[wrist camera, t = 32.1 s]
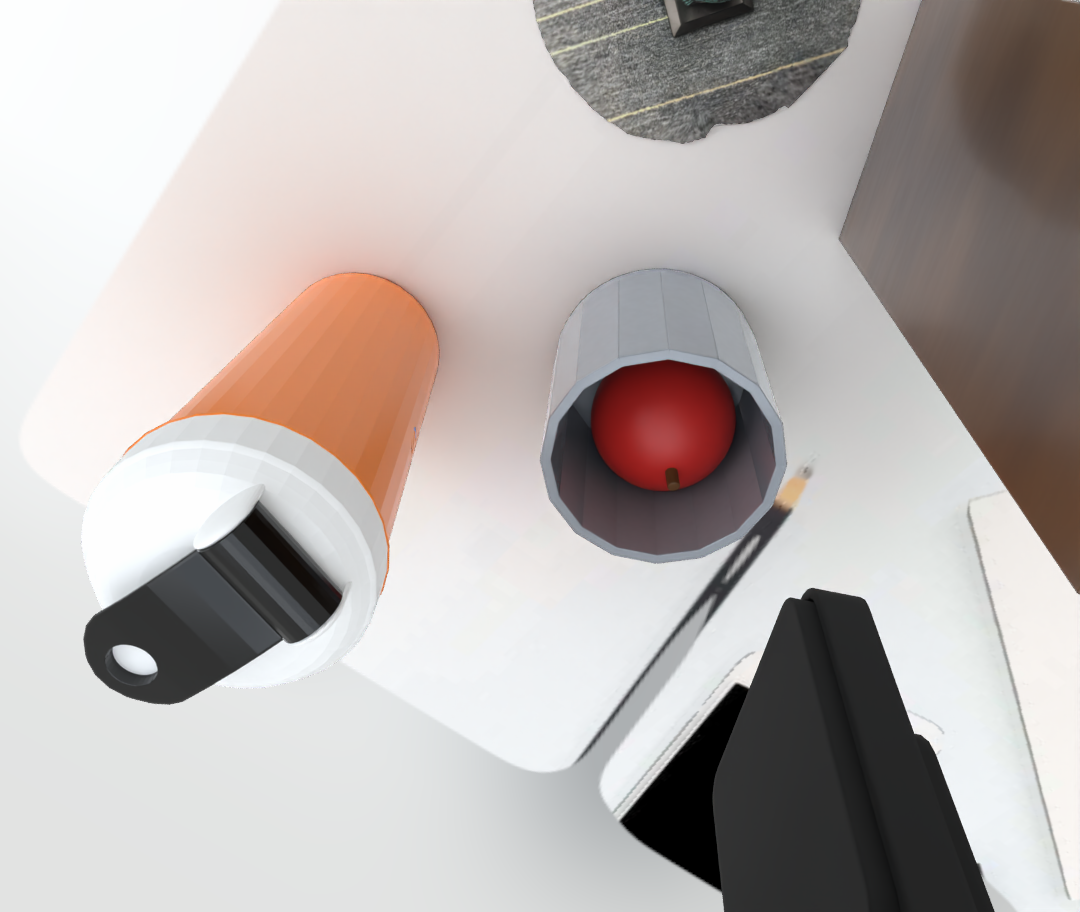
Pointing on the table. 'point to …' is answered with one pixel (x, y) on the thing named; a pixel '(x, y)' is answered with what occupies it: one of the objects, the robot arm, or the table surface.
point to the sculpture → (692, 57)
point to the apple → (663, 423)
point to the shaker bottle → (263, 502)
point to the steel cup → (641, 337)
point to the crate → (988, 237)
